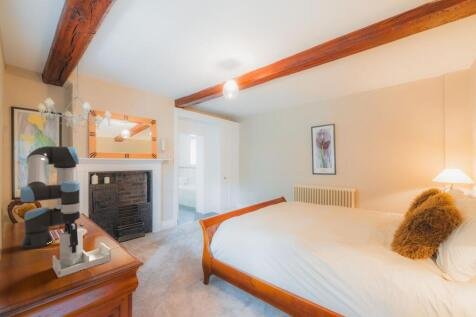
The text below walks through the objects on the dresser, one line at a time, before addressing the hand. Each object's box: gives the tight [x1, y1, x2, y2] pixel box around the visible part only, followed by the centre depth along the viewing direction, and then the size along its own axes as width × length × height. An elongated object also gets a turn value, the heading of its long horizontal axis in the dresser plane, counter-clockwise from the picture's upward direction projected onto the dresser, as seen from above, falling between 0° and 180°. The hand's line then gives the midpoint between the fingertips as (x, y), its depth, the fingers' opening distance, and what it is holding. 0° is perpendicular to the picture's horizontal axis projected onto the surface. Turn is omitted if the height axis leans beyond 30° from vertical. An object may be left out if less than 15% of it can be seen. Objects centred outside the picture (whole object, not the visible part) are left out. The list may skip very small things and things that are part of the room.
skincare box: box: [59, 228, 84, 266], centre depth 108 cm, size 8×7×16 cm
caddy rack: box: [52, 242, 112, 278], centre depth 111 cm, size 14×22×6 cm, turn 139°
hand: (70, 255), depth 108 cm, fingers closed on skincare box, 10 cm apart
